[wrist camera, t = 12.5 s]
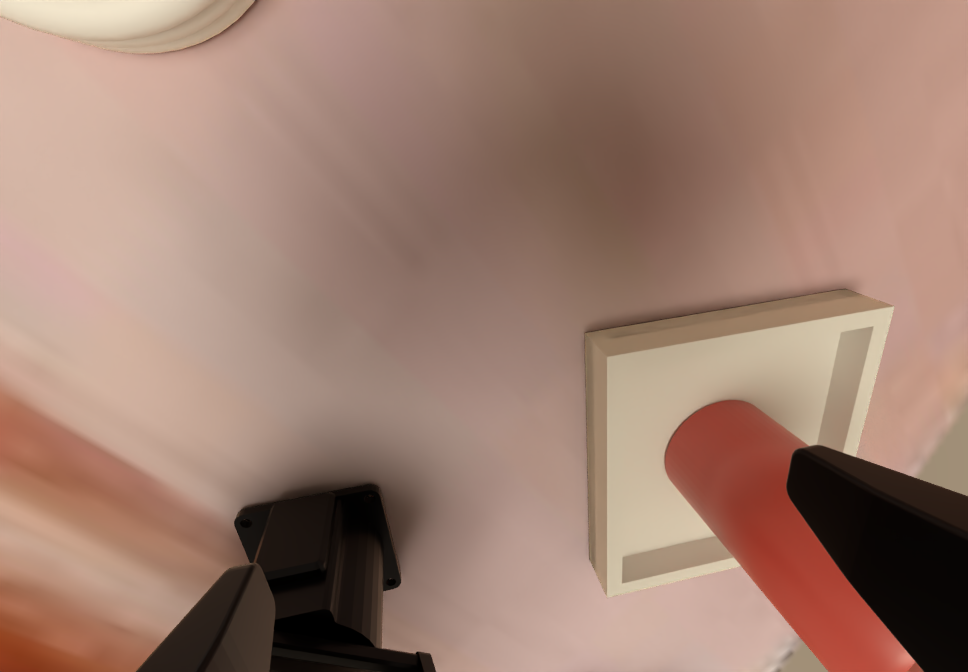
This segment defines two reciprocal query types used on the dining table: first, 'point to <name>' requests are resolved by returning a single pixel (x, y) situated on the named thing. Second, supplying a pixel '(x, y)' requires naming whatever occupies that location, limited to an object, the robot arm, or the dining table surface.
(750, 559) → the squeeze bottle
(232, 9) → the cream round disc
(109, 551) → the dining table surface
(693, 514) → the tray
